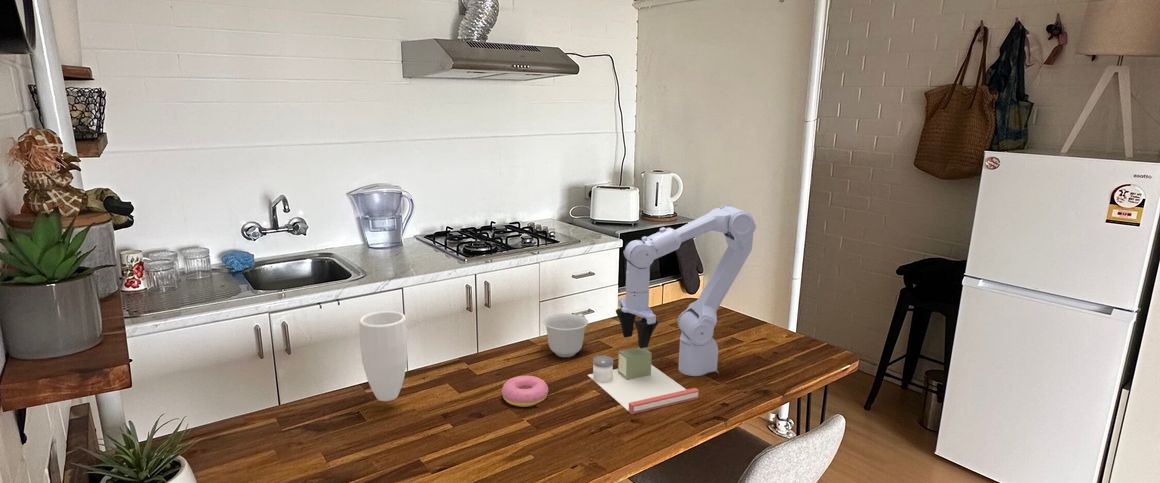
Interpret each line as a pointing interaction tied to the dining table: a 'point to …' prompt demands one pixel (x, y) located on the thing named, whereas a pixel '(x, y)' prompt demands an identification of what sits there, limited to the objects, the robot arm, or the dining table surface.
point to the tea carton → (634, 363)
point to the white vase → (384, 352)
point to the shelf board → (647, 391)
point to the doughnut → (524, 391)
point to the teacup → (565, 333)
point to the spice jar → (602, 369)
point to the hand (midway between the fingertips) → (635, 341)
